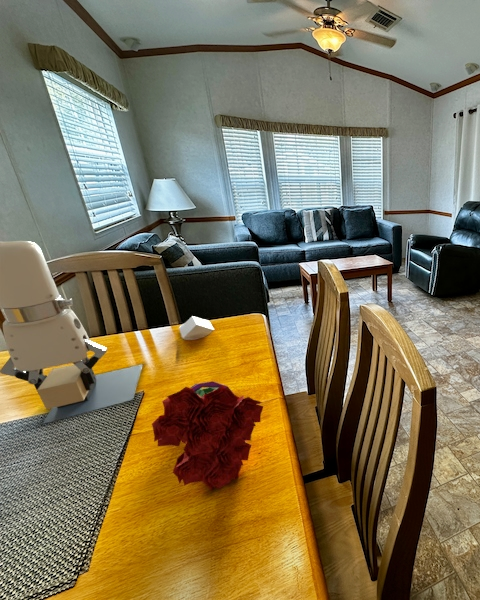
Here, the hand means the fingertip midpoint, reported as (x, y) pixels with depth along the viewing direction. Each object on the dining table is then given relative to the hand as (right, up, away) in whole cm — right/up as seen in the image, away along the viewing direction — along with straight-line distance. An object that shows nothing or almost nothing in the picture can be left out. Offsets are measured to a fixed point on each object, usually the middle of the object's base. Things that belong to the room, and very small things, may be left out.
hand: (70, 390), depth 66 cm
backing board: (-9, -5, +16) cm, 19 cm away
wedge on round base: (-2, +6, +45) cm, 45 cm away
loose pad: (0, -1, 0) cm, 1 cm away
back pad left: (-12, -5, +14) cm, 19 cm away
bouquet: (+27, -11, +2) cm, 29 cm away
